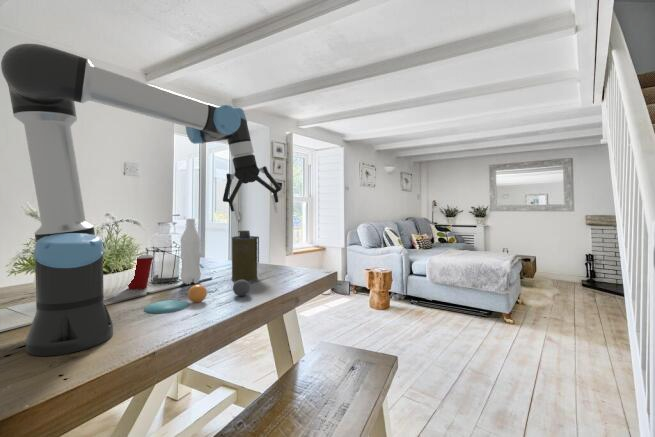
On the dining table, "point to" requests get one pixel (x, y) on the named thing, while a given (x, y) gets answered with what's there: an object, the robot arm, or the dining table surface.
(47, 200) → the robot arm
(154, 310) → the teal mark
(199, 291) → the orange ball
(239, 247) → the canister
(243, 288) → the dark gray ball
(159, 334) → the dining table surface
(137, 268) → the plastic cup
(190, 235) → the water bottle
